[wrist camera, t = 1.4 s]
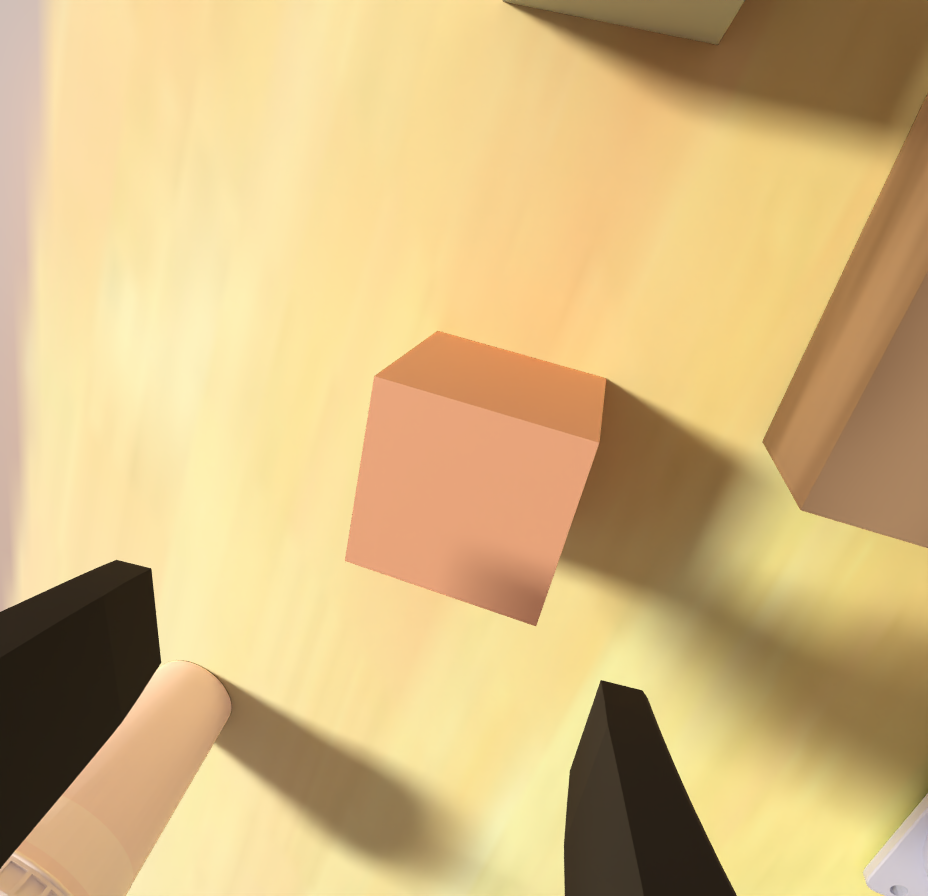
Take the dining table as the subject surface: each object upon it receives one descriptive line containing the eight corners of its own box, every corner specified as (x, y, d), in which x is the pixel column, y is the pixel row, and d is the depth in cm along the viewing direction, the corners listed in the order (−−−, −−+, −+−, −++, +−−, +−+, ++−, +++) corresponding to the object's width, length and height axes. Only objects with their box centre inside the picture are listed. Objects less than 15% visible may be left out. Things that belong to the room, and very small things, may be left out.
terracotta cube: (606, 377, 17) (599, 442, 12) (556, 525, 19) (536, 626, 15) (438, 330, 18) (374, 376, 13) (408, 478, 20) (345, 561, 15)
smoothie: (248, 771, 27) (-70, 1255, 15) (125, 713, 28) (-280, 1132, 15) (270, 673, 25) (-99, 1166, 12) (132, 611, 25) (-354, 1021, 13)
